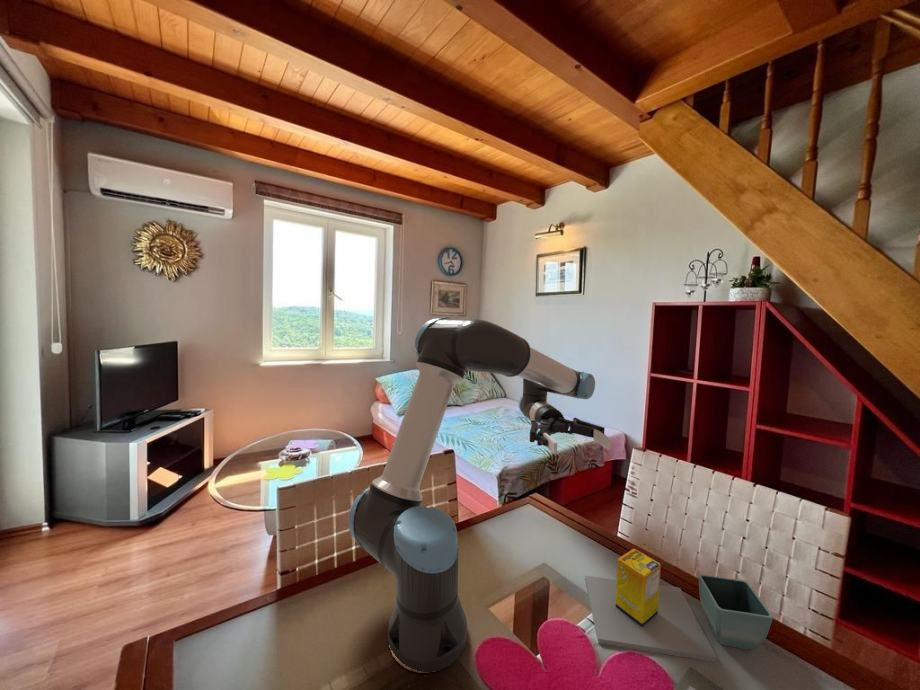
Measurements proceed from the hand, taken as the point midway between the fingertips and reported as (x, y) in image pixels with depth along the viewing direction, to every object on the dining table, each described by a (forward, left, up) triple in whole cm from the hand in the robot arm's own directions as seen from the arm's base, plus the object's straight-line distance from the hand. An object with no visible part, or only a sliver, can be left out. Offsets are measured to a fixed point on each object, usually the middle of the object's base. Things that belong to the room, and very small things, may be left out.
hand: (582, 446), depth 85 cm
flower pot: (+26, -15, -30) cm, 42 cm away
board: (+11, -13, -30) cm, 34 cm away
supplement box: (+10, -13, -29) cm, 33 cm away
